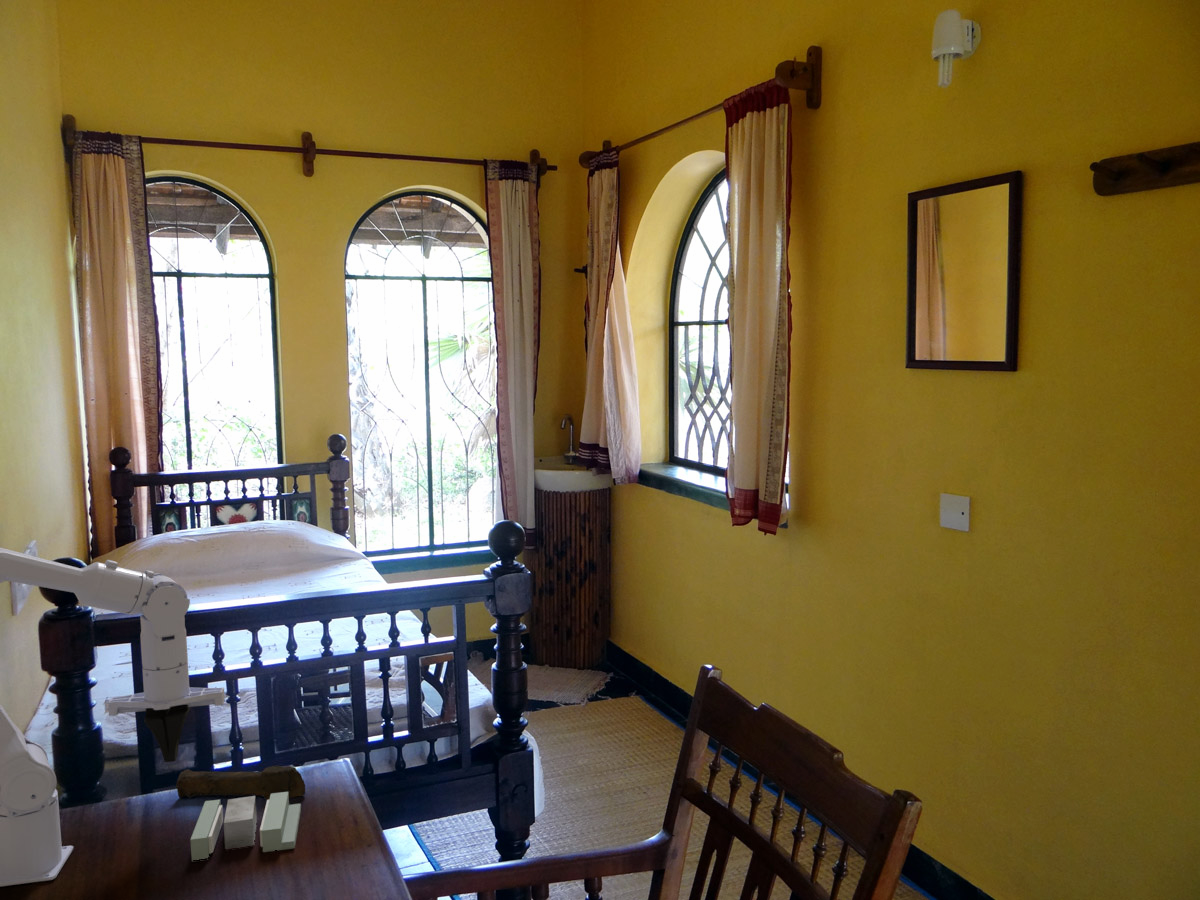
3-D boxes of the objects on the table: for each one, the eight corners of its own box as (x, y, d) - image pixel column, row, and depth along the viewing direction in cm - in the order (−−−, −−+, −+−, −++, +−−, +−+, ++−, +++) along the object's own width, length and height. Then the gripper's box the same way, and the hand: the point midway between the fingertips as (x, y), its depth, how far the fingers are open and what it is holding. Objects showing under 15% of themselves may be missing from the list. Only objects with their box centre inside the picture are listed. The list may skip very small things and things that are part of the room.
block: (225, 851, 125) (223, 822, 125) (229, 826, 132) (228, 799, 131) (254, 847, 126) (252, 818, 126) (256, 822, 133) (255, 795, 132)
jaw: (191, 861, 122) (190, 839, 122) (206, 821, 133) (205, 801, 133) (211, 858, 123) (210, 837, 123) (224, 819, 133) (223, 799, 133)
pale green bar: (259, 852, 124) (258, 831, 124) (268, 813, 135) (267, 794, 135) (294, 848, 125) (293, 826, 125) (300, 810, 136) (299, 790, 136)
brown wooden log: (174, 802, 140) (172, 772, 139) (188, 790, 144) (187, 760, 143) (297, 806, 138) (295, 776, 137) (308, 794, 142) (307, 764, 141)
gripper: (99, 678, 124) (106, 777, 125) (216, 668, 127) (222, 764, 128) (113, 661, 131) (120, 755, 132) (224, 652, 134) (229, 744, 135)
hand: (171, 758), depth 131 cm, fingers closed
